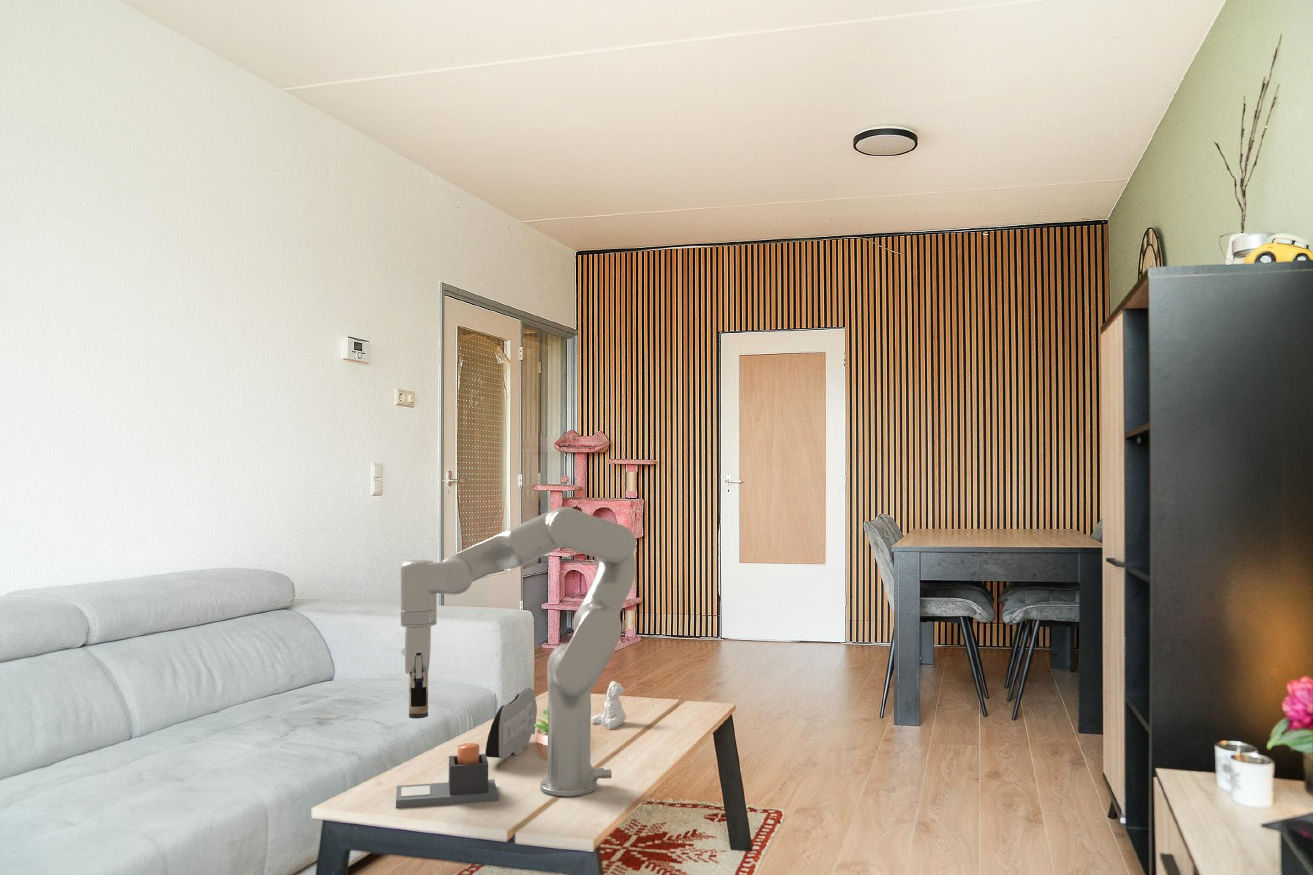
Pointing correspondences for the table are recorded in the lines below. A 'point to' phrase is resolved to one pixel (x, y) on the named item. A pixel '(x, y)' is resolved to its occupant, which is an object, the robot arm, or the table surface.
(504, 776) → the table surface
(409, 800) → the board
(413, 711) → the beige wooden cylinder
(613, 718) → the white creature statuette
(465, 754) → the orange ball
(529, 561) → the robot arm
